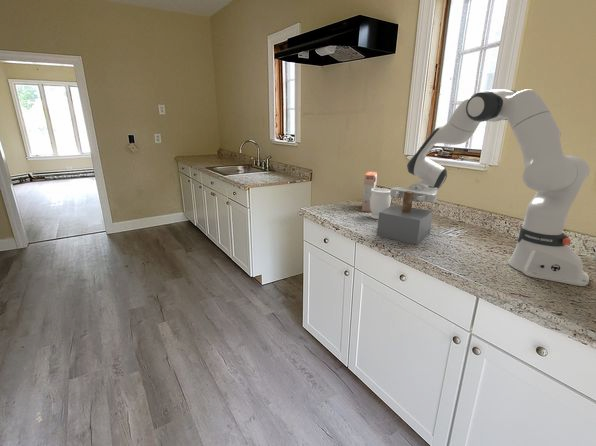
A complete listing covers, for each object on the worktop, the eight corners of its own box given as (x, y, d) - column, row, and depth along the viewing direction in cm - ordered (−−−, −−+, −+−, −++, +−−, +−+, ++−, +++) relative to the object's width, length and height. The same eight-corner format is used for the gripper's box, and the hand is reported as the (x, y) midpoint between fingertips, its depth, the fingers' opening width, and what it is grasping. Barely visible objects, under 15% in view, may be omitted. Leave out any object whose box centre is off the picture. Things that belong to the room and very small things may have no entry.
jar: (364, 216, 170) (366, 189, 166) (376, 213, 177) (379, 186, 172) (381, 221, 162) (384, 192, 158) (392, 218, 169) (396, 190, 164)
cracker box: (372, 212, 178) (375, 175, 172) (361, 211, 180) (364, 174, 174) (374, 206, 191) (377, 171, 184) (364, 205, 193) (367, 171, 186)
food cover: (429, 233, 146) (436, 191, 140) (416, 245, 132) (423, 198, 126) (392, 225, 156) (396, 186, 150) (376, 235, 143) (381, 192, 137)
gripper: (396, 182, 154) (385, 187, 143) (441, 188, 142) (432, 193, 131) (395, 195, 156) (383, 200, 145) (439, 202, 144) (430, 208, 133)
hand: (407, 197), depth 138 cm, fingers open, 8 cm apart
